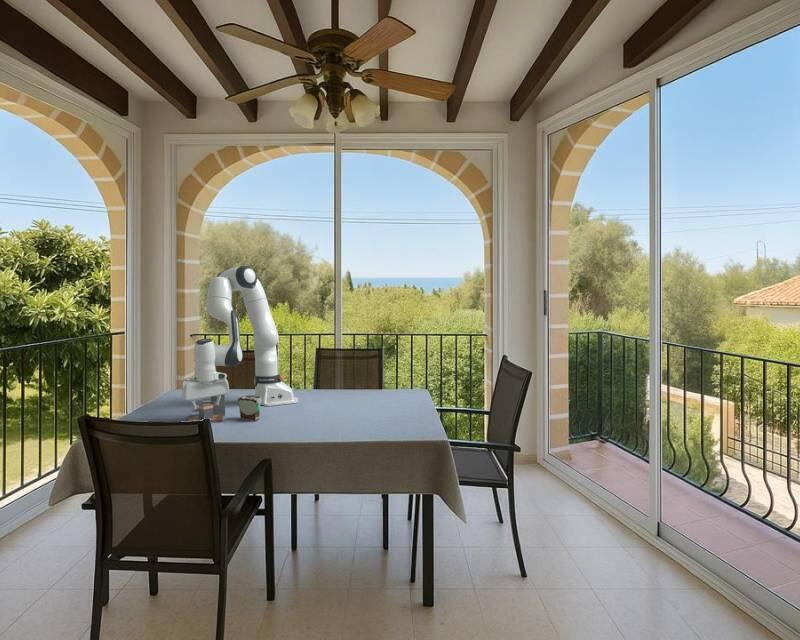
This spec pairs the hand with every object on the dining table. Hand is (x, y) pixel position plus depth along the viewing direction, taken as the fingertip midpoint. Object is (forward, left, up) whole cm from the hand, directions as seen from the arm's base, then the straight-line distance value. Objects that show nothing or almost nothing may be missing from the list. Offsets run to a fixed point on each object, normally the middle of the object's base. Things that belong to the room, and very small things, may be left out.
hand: (206, 407), depth 235 cm
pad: (0, 0, -6) cm, 6 cm away
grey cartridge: (0, -21, -6) cm, 21 cm away
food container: (-20, +2, -6) cm, 21 cm away
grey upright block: (-5, -10, -6) cm, 12 cm away
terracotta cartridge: (0, 0, -5) cm, 5 cm away
